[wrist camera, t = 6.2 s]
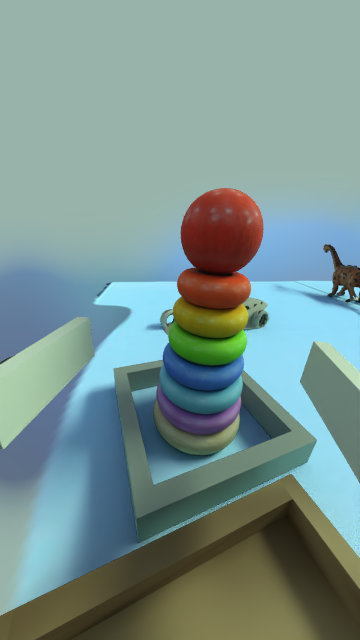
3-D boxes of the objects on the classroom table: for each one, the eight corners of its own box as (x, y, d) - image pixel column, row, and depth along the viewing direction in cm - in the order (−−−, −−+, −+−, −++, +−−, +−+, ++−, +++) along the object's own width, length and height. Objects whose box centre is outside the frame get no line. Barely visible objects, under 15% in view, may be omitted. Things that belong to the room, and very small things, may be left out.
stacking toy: (142, 451, 17) (131, 169, 9) (163, 384, 24) (167, 197, 16) (243, 468, 16) (320, 173, 8) (233, 394, 23) (270, 201, 16)
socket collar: (307, 461, 16) (317, 439, 15) (138, 542, 12) (136, 518, 11) (219, 365, 28) (221, 349, 27) (115, 387, 23) (113, 368, 22)
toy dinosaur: (321, 287, 77) (335, 244, 71) (407, 318, 49) (441, 252, 43) (299, 286, 76) (311, 242, 70) (374, 317, 49) (404, 250, 43)
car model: (155, 328, 38) (155, 302, 36) (237, 306, 52) (241, 287, 50) (194, 356, 30) (197, 325, 28) (279, 321, 44) (285, 299, 42)
